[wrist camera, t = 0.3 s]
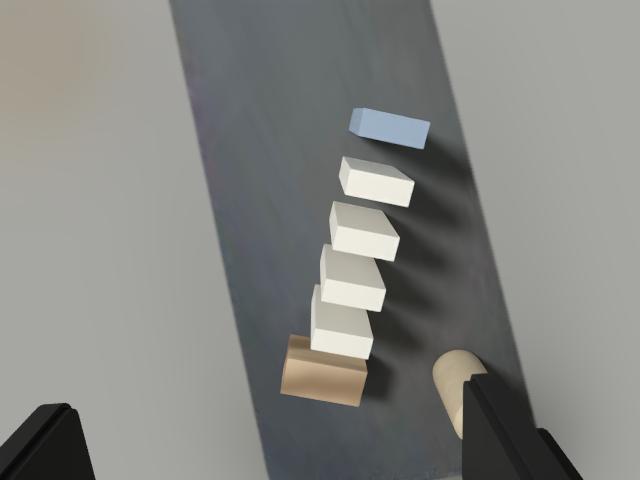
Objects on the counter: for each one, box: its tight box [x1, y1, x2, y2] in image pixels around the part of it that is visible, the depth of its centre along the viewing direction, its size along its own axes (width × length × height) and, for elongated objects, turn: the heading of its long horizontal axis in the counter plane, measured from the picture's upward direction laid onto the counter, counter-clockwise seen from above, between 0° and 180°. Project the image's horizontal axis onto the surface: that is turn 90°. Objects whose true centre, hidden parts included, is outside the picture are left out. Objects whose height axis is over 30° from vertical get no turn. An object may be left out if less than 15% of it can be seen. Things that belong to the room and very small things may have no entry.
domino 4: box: [320, 244, 386, 312], centre depth 42 cm, size 2×5×10 cm, turn 78°
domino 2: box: [339, 156, 415, 207], centre depth 39 cm, size 2×5×10 cm, turn 78°
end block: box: [281, 334, 368, 407], centre depth 47 cm, size 4×8×5 cm, turn 78°
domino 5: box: [311, 284, 373, 359], centre depth 43 cm, size 2×5×10 cm, turn 78°
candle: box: [433, 350, 488, 439], centre depth 46 cm, size 6×6×10 cm
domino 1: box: [349, 108, 430, 149], centre depth 38 cm, size 2×5×10 cm, turn 79°
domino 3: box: [329, 201, 400, 261], centre depth 41 cm, size 2×5×10 cm, turn 78°
